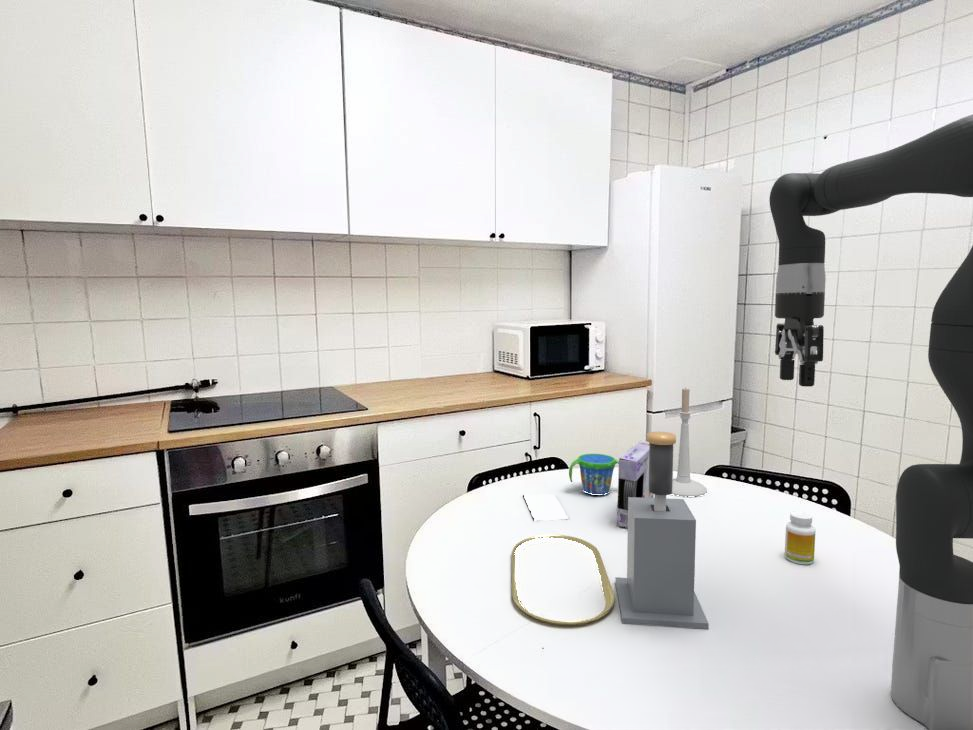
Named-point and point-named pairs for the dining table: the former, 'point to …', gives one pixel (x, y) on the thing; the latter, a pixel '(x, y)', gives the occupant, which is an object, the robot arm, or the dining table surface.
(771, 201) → the robot arm
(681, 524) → the column
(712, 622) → the dining table surface
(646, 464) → the cake pan box
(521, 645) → the dining table surface
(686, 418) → the candlestick
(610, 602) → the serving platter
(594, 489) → the snack cup
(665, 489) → the plunger
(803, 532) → the supplement bottle
